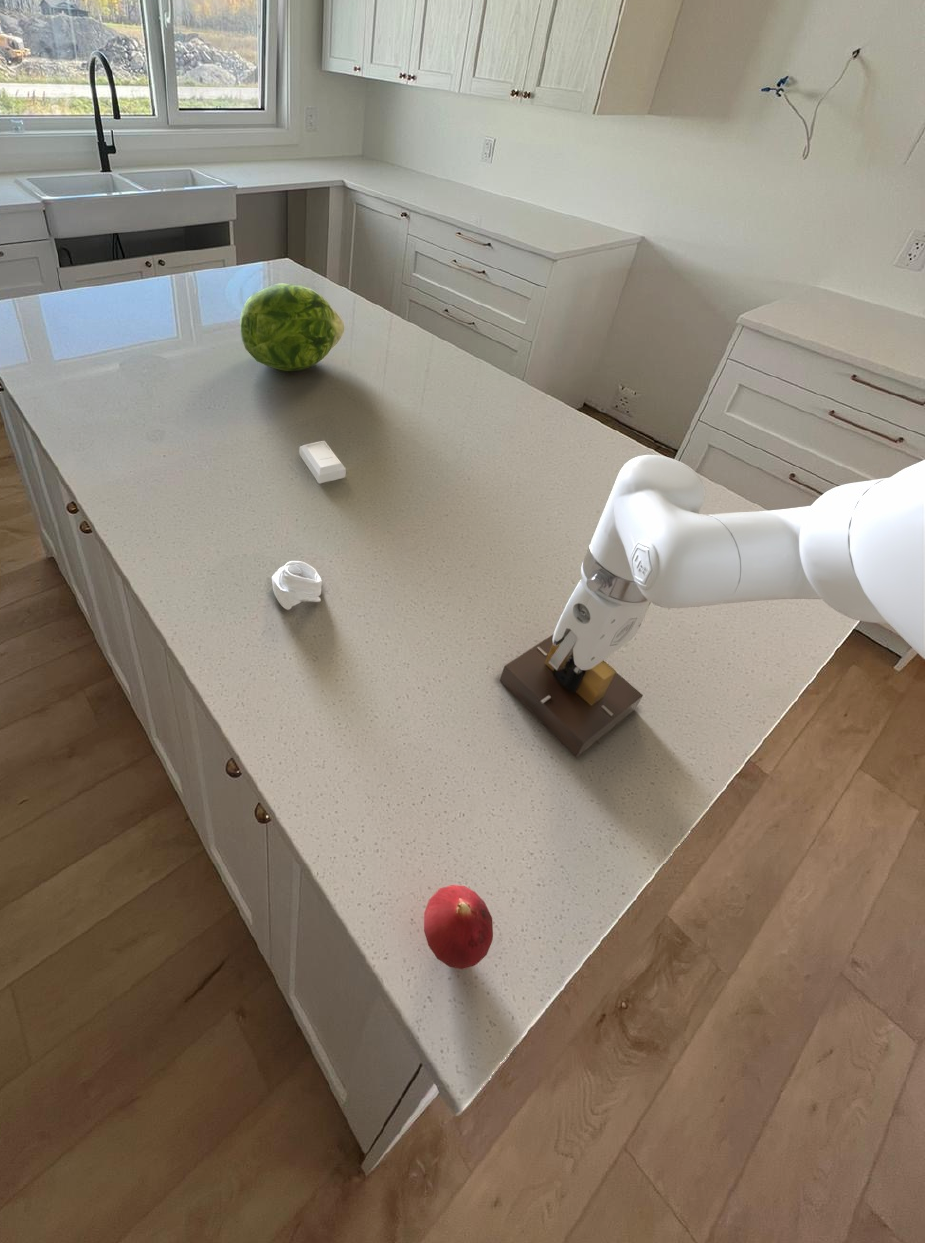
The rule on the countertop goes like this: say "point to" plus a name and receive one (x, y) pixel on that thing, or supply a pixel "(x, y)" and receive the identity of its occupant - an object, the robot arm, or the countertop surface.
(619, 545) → the robot arm
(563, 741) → the tap deck
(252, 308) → the lettuce
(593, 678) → the tap handle
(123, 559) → the countertop surface
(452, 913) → the onion
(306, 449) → the soap bar
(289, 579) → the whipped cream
